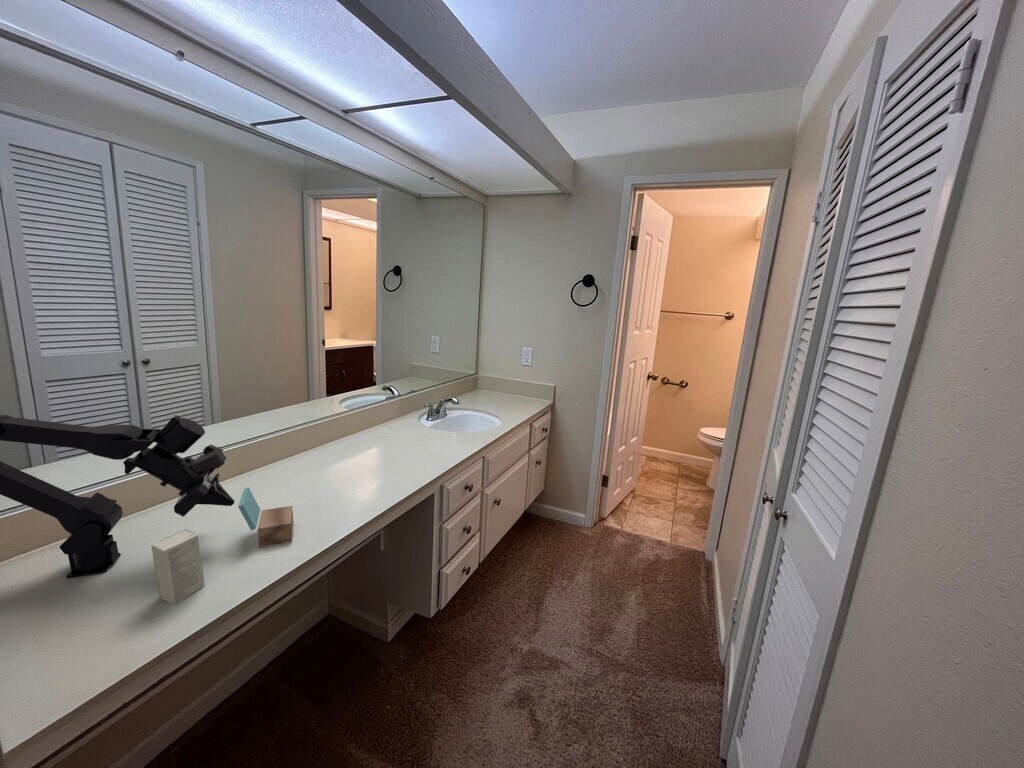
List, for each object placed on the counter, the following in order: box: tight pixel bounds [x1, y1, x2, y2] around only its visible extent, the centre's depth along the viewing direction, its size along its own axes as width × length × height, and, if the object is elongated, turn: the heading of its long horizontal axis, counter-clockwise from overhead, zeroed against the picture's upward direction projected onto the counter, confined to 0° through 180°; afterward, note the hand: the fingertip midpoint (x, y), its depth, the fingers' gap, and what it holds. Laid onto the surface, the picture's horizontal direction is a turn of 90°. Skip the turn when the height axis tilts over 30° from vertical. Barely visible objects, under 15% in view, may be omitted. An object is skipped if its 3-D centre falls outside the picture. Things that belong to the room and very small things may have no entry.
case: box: [257, 505, 294, 548], centre depth 103 cm, size 7×9×5 cm
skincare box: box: [150, 528, 205, 605], centre depth 81 cm, size 6×4×12 cm
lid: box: [237, 486, 261, 532], centre depth 99 cm, size 7×9×1 cm
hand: (233, 503), depth 97 cm, fingers closed
